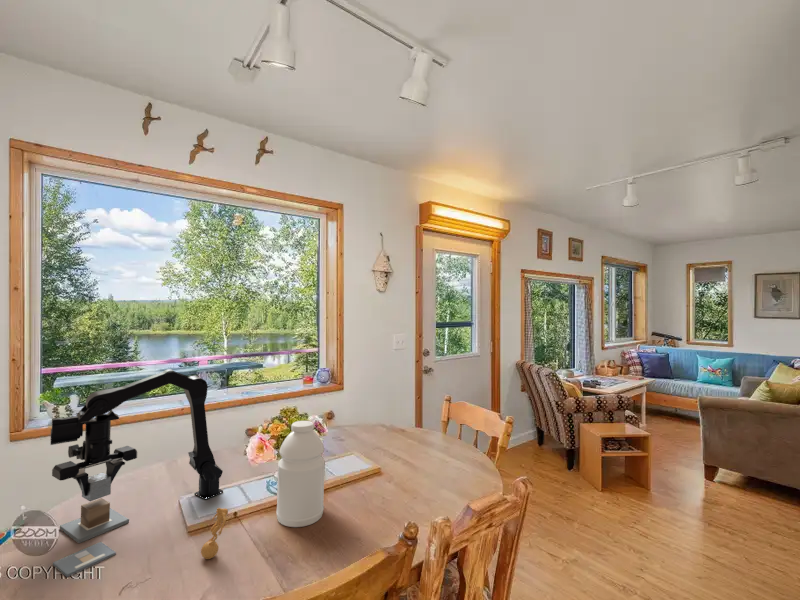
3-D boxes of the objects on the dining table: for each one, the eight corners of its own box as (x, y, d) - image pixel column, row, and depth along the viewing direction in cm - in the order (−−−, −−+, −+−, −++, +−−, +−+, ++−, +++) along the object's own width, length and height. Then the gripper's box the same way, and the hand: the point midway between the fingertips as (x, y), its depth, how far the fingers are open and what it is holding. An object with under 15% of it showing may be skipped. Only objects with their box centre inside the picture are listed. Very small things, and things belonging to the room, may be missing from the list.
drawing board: (115, 554, 100) (115, 551, 100) (67, 577, 92) (67, 574, 92) (100, 543, 105) (100, 541, 105) (52, 564, 96) (53, 561, 96)
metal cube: (110, 494, 114) (111, 476, 114) (89, 501, 110) (90, 483, 110) (102, 489, 116) (102, 472, 116) (81, 496, 112) (82, 478, 112)
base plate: (128, 522, 115) (128, 518, 115) (78, 543, 105) (78, 539, 105) (108, 510, 121) (109, 506, 121) (59, 529, 111) (59, 525, 111)
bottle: (274, 508, 125) (276, 419, 125) (318, 500, 130) (320, 415, 131) (279, 532, 112) (282, 432, 112) (327, 522, 117) (330, 427, 118)
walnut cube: (109, 520, 114) (109, 502, 114) (88, 528, 109) (89, 510, 110) (101, 515, 116) (101, 498, 116) (80, 523, 112) (81, 505, 112)
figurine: (198, 551, 102) (199, 505, 103) (223, 544, 106) (224, 498, 106) (203, 569, 96) (205, 519, 96) (230, 560, 99) (231, 512, 99)
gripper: (120, 423, 125) (119, 473, 125) (44, 440, 109) (43, 497, 109) (138, 430, 119) (137, 482, 119) (61, 449, 103) (59, 509, 103)
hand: (96, 491), depth 113 cm, fingers closed on metal cube, 5 cm apart
